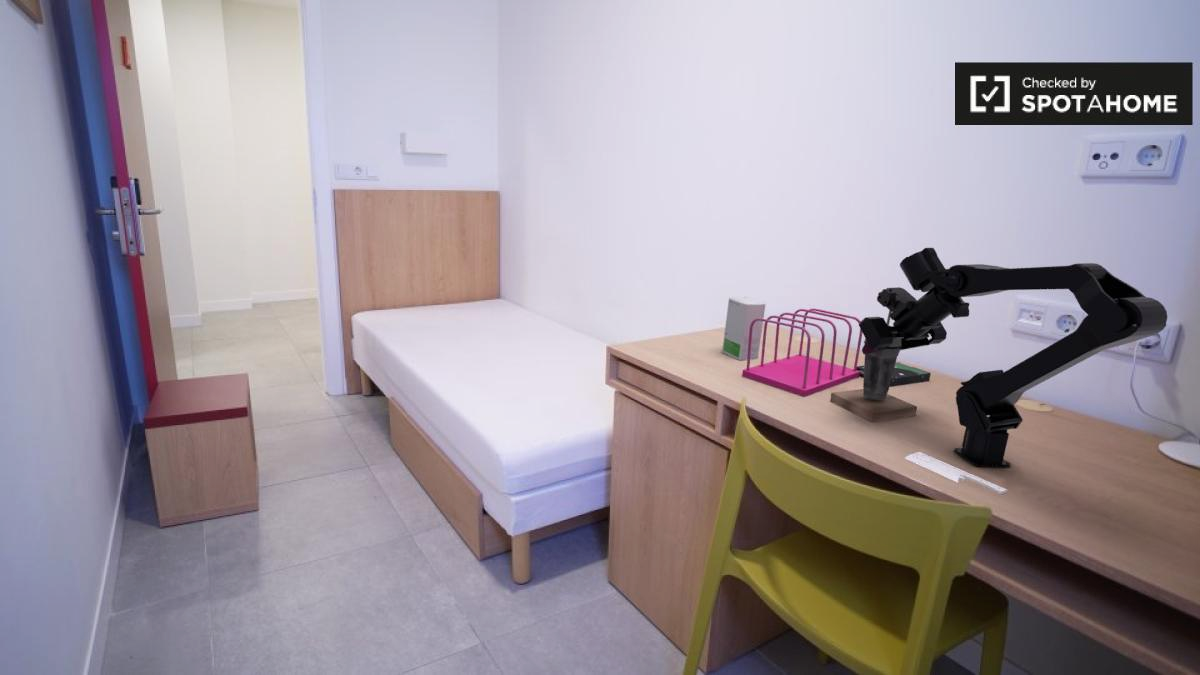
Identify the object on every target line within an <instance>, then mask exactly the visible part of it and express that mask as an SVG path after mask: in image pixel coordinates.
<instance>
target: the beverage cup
mask: <svg viewBox="0 0 1200 675" xmlns="http://www.w3.org/2000/svg"><path fill="white" fill-rule="evenodd" d="M888 311H889V312H888V314H887V315H888V316H887V319H886V324H887V326H888V327H889V326H890V321H891V317H890V314H891V313H892V312H891V311H890V310H889V309H888ZM865 342H866V338H865V337H864V341H863V343H864V344H865ZM901 347H902V345H901V338H896V339H893V343H892V344H891V345H890V346H889V349H885V350H881V351H877V352H873V353H869V354H864V364H863V366H864V378H863V384H862V389H863V391H864V392H863V395H864V396H865V397H867V398H871V399H876V400H884V399H886V396H887V394H889V390H890V387H889V386H890V382H891V379H892V375H893V371H894V367H895V363H897V360H898V357H899V355H900V352H901V350H900V348H901Z"/></svg>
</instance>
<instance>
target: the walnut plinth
mask: <svg viewBox="0 0 1200 675" xmlns="http://www.w3.org/2000/svg"><path fill="white" fill-rule="evenodd" d="M863 392H864V391H863V388H859V389H853V390H844V391H843V390H842V391H834V392H831V393H830V402H831V403H833V404H835V405H837V406H838V407H841V408H843V409H845V410H847V411H849V412H852V414H855V415H857V416H859V417H861V418H863V419H865V420H867V421H869V422H871V423H873V422H874V423H875V422H879V421H881V422H882V421H886V420H887V421H888V420H894V419H902V418H907V417H915V416H917V412H918V406H916V405H914V404H913V403H912V404H911V403H910V402H907V401H905V400H903V399H901V398H898V397H895V396H893V395H891V394H889V393H887V396H886V399H884V400H876V399H871V398H867V397H865V396H864V395H863Z"/></svg>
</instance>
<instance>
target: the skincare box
mask: <svg viewBox="0 0 1200 675" xmlns="http://www.w3.org/2000/svg"><path fill="white" fill-rule="evenodd" d="M766 304H767V303H764V302H761V301H758V300H756V299H753V298H751V297H747V296H741V297H738V296H737V297H729V298H728V304H727V312H726V319H725V326H724V327H725V328H724V336H723V343H722V350H721V351H722V353H723V352H724V354H726V355H727V354H728V356H729V355H730V357H732V358H734V359H736V360H738V361H740V360H741V361H746V360H745V359H747V356H748V343H749V331H750V325H751V323H752V321H753V320H755V319H758V318H762V319H765V318H764V317H765V310H766V306H767V305H766ZM763 324H764V321H756V322H755V323H754V325H753V329H752V341H751V354H750V360H755V359H754V358H759V354H760V353H759V352H760V345H761V339H762V332H763Z"/></svg>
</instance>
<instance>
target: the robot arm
mask: <svg viewBox="0 0 1200 675" xmlns="http://www.w3.org/2000/svg"><path fill="white" fill-rule="evenodd" d="M899 267H900V269H901V271H902V272H903V274H904V275H905V278H907V281H908V282H909V284H910V286H911V288H912V290H914V291H917V292H918V291H920V292H921V293H925V294H923V295H921V297H920V298H918V299H917V298H916V297H914V296H913V295H912V294H911V293H910V292H909V291H907V290H906V289H905V288H903V287H900V286H899V287H887V288H883V289H882V290H881V291H880V292H878V295H877V297H876V301H877V303H879V304H880V305H881V306H882V307H883V308H887V309H888V311H889V310H890V311H891V312H892V313H891V314H890V320H892V321H894V322H893V323H892V325H889V327H888V326H887V324H886V323H887V321H885V318H884V317H880V316H868V317H864V318H863V319H862V320H860V321H861V322H860V323H858V326H859V330H860V329H861V330H862V335H863V336H864V339H865V338H866V342H865V343H864V344H863V346H862V349H861V352H862V354H863V355H865V354H869V353H873V352H877V351H881V350H885V349H889V346H890V345H891V344H892V343H893V339H896V338H901V345H902V347H901V348H900V351H904V350H910V349H915V348H920V347H926V346H927V347H928V346H930V345H938V344H940V343H942V342H944V341H945V340H946V339H947V334H948V333H947V330H946V329H945V327H944V324H943V323H942V321H944V320H945V319H947V318H948V317H949V316H950V315H951V316H952V317H953V318H954V319H955V318H967V317H968V318H969V316H970V309H969V308H970V302H965V301H964V299H963V298H967V297H968V298H971V297H984V296H988V295H993V294H999V293H1003V292H1005V291H1020V290H1021V291H1025V290H1026V291H1027V290H1028V291H1031V290H1040V291H1041V290H1068V291H1070V293H1072V294H1073V296H1074V298H1075V299H1076V301H1077V303H1078V305H1079V307H1080V308H1081V310H1082V311H1084V312H1085V314H1086V316H1085V317H1084V318H1083V319H1082V320H1081V323H1079V325H1078V327H1077V328H1076V329H1075V330H1074V331H1073V332H1071V333H1070V334H1067V335H1066V336H1064V337H1063V338H1061V339H1059V340H1057V341H1056V342H1054V343H1052V344H1051V345H1049V346H1047V347H1045V348H1043V349H1042V350H1040V351H1038V352H1037V353H1034V354H1033V355H1031V356H1029V357H1028V358H1026V359H1025V360H1023V361H1021V362H1019V363H1017V364H1015V365H1014V366H1012V367H1010V368H1009V369H1007V370H1005V371H1004V370H1003V369H997V370H996V369H995V370H987V371H979V372H978V373H977V372H976V374H974V375H973V376H972V377H971V378H970V379H969V380H966V381H961V382H960V385H962V386H960V387H959V388H958V389H957V390H956V392H955V403H956V406H957V413H958V421H959V425H960V426H962V427H965V430H964V434H963V439H962V444H961V447H954V449H953V452H955V453H956V454H958V455H959V456H961V457H962V458H963V459H965V460H966V461H968V462H969V463H970V464H971V465H973V466H975V467H996V468H997V467H1000V468H1001V467H1002V468H1004V467H1007V468H1010V467H1011V463H1010V462H1009V461H1007V460H1006V459H1004V458H1005V454H1006V448H1007V444H1008V441H1009V437H1010V433H1009V432H1008V431H1009V430H1015V429H1018V428H1019V427H1020V425H1021V424H1022V422H1023V421H1024V420H1023V417H1022V416H1021V414H1020V413H1019V411H1018V410H1017V407H1016V403H1018V402H1019V400H1020V399H1021V398H1022V396H1023V394H1024V393H1025V392H1027V391H1029V390H1031V389H1032V388H1035V387H1036V386H1038V385H1040V384H1042V383H1044V382H1045V381H1047V380H1050V379H1051V378H1053V377H1055V376H1057V375H1058V374H1061V373H1063V372H1064V371H1067V370H1069V369H1070V368H1072V367H1074V366H1076V365H1077V364H1079V363H1082V362H1083V361H1085V360H1087V359H1089V358H1091V357H1094V356H1095V355H1096V354H1098V353H1100V352H1103V351H1106V350H1108V349H1112V348H1116V347H1119V346H1120V347H1121V346H1123V345H1126V344H1127V345H1128V344H1130V343H1134V342H1137V341H1139V340H1143V339H1146V338H1149V337H1153V336H1155V335H1157V334H1159V333H1161V332H1163V330H1164V329H1165V327H1167V321H1168V313H1167V310H1166V308H1165V306H1164V305H1163V304H1162V303H1161V302H1160V301H1159V300H1157V299H1154V298H1152V297H1147V296H1145V294H1143V293H1142V292H1141V291H1139V290H1138V289H1137V288H1136V287H1133V285H1130V284H1129V283H1127V282H1125V281H1123V280H1121V279H1120V278H1118V277H1117V276H1115V275H1113V274H1112V273H1111V272H1109V270H1107V269H1106V268H1105V267H1103V266H1102V265H1100V264H1098V263H1093V262H1090V263H1089V262H1088V263H1087V262H1084V263H1079V262H1078V263H1073V264H1070V265H1056V266H1055V265H1053V266H1034V267H1017V268H1015V267H1014V268H1010V267H1009V268H1008V267H1003V266H999V265H990V264H989V265H988V264H983V263H981V264H972V263H971V264H955V265H952V266H950V267H949V268H946V267H945V265H944V264H943V262H942V261H941V259H940V258H939V256H938V253H937V251H936V250H935V247H925V248H923V249H922V250H920V251H918V252H915V253H913V254H911V255H909V256H906V257H905V258H903V259H902V260H901V261H900V263H899ZM929 337H931V338H930V339H929Z"/></svg>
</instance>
